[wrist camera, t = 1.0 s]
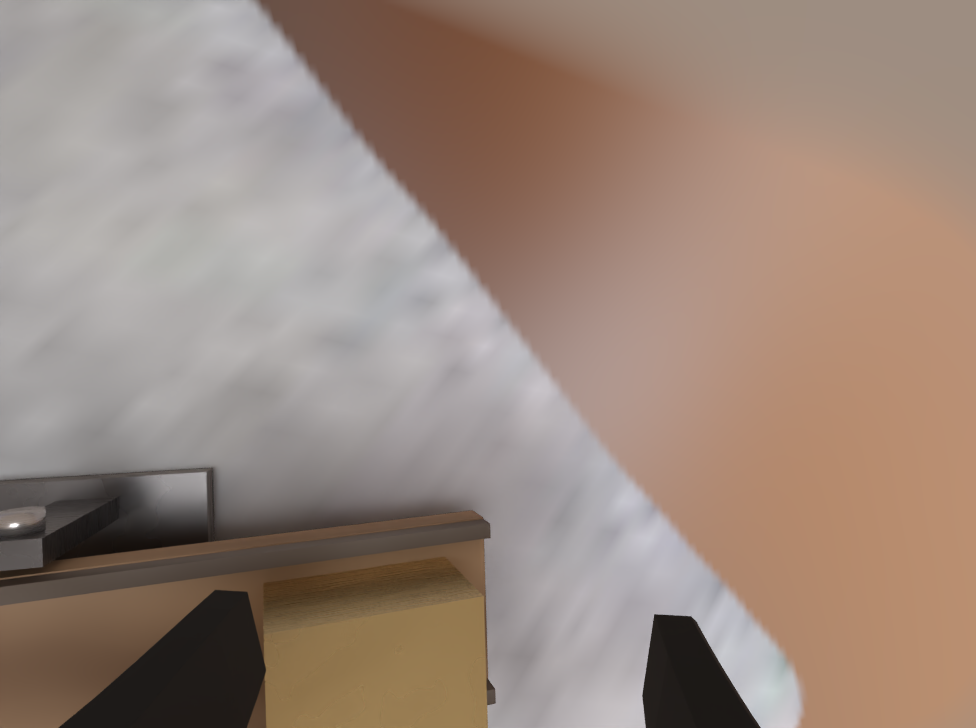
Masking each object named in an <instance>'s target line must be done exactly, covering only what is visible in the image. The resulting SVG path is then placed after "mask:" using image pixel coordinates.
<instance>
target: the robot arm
mask: <svg viewBox="0 0 976 728" xmlns="http://www.w3.org/2000/svg"><path fill="white" fill-rule="evenodd" d="M265 673H266V667H265V663H264V658H263V654H262V650H261V646H260V642H259V638H258V634H257V629H256V625H255V621H254V617H253V613H252V609H251V604H250V600H249V596H248V592H244V591H227V590H214V591H213V592H212V593H211V594H210V595H209V596H208V597H206V598H205V599H204V600H203V601H202V602H201V603H200V604H199V605H197V606H196V607H195V608H194V609H193V610H192V611H191V612H190V613H189V614H187V615H186V616H185V617H184V618H183V619H182V620H181V621H180V622H179V623H178V624H176V625H175V626H174V627H173V628H172V629H171V630H170V631H169V632H168V633H167V634H165V635H164V636H163V637H162V638H161V639H160V640H159V641H158V642H157V643H156V644H154V645H153V646H152V647H151V648H150V649H149V650H148V651H147V652H146V653H145V654H143V655H142V656H141V657H140V658H139V659H138V660H137V661H136V662H134V663H133V664H132V665H131V666H130V667H129V668H128V669H127V670H125V671H124V672H123V673H122V674H121V675H120V676H119V677H117V678H116V679H115V680H114V681H113V682H112V683H111V684H110V685H108V686H107V687H106V688H105V689H104V690H103V691H102V692H100V693H99V694H98V695H97V696H96V697H95V698H94V699H92V700H91V701H90V702H89V703H88V704H86V705H85V706H84V707H83V708H82V709H80V710H79V711H78V712H77V713H76V714H74V715H73V716H72V717H71V718H69V719H68V720H67V721H66V722H65V723H63V724H62V725H61V726H60V727H59V728H247V726H248V723H249V720H250V717H251V715H252V712H253V709H254V706H255V703H256V700H257V697H258V694H259V691H260V688H261V685H262V682H263V679H264V676H265ZM642 696H643V705H644V714H645V724H646V728H760V726H759V725H758V723H757V722H756V720H755V719H754V717H753V716H752V714H751V713H750V711H749V710H748V708H747V706H746V705H745V703H744V702H743V700H742V699H741V697H740V695H739V694H738V692H737V691H736V689H735V687H734V686H733V684H732V682H731V681H730V679H729V678H728V676H727V674H726V673H725V671H724V669H723V668H722V666H721V664H720V663H719V661H718V659H717V658H716V656H715V654H714V652H713V651H712V649H711V647H710V645H709V644H708V642H707V640H706V638H705V637H704V635H703V633H702V631H701V629H700V628H699V626H698V624H697V622H696V621H695V620H694V619H693V618H692V617H691V616H674V615H656V614H654V621H653V627H652V634H651V641H650V648H649V654H648V661H647V668H646V675H645V681H644V688H643V695H642Z"/></svg>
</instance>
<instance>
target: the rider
mask: <svg viewBox="0 0 976 728" xmlns="http://www.w3.org/2000/svg"><path fill="white" fill-rule="evenodd" d="M263 630H264V663H265V667H266V673H265V700H266V728H488V720H487V687H486V653H485V620H484V596H483V595H482V594H481V593H480V592H479V591H478V590H477V589H476V588H475V587H474V586H473V585H472V584H471V583H470V582H469V581H468V580H467V579H466V578H465V577H464V576H463V575H462V574H461V573H460V572H459V571H458V570H457V569H456V568H455V567H454V566H453V564H452V563H451V562H450V561H449V560H448V559H447V558H446V557H438V558H432V559H425V560H418V561H411V562H404V563H397V564H390V565H384V566H377V567H370V568H363V569H356V570H349V571H343V572H336V573H329V574H322V575H315V576H308V577H302V578H295V579H288V580H281V581H274V582H267V583H263Z"/></svg>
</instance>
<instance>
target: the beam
mask: <svg viewBox="0 0 976 728" xmlns="http://www.w3.org/2000/svg"><path fill="white" fill-rule="evenodd" d="M486 538H491V537H490V523H488V522H487V521H485V520H484V519H483V517H482V516H480V515H478V514H477V513H475V512H474V511H463V512H455V513H447V514H438V515H430V516H422V517H413V518H405V519H397V520H388V521H380V522H372V523H363V524H355V525H347V526H338V527H330V528H322V529H313V530H305V531H297V532H288V533H280V534H272V535H263V536H255V537H247V538H238V539H230V540H222V541H214V542H205V543H197V544H189V545H180V546H172V547H164V548H155V549H147V550H139V551H130V552H122V553H114V554H105V555H97V556H89V557H80V558H72V559H64V560H55V561H52V562H50V563H49V564H47V565H46V566H44V567H39V568H28V569H17V570H6V571H0V728H59V727H60V726H61V725H62V724H63V723H65V722H66V721H67V720H68V719H69V718H71V717H72V716H73V715H74V714H76V713H77V712H78V711H79V710H80V709H82V708H83V707H84V706H85V705H86V704H88V703H89V702H90V701H91V700H92V699H94V698H95V697H96V696H97V695H98V694H99V693H100V692H102V691H103V690H104V689H105V688H106V687H107V686H108V685H110V684H111V683H112V682H113V681H114V680H115V679H116V678H117V677H119V676H120V675H121V674H122V673H123V672H124V671H125V670H127V669H128V668H129V667H130V666H131V665H132V664H133V663H134V662H136V661H137V660H138V659H139V658H140V657H141V656H142V655H143V654H145V653H146V652H147V651H148V650H149V649H150V648H151V647H152V646H153V645H154V644H156V643H157V642H158V641H159V640H160V639H161V638H162V637H163V636H164V635H165V634H167V633H168V632H169V631H170V630H171V629H172V628H173V627H174V626H175V625H176V624H178V623H179V622H180V621H181V620H182V619H183V618H184V617H185V616H186V615H187V614H189V613H190V612H191V611H192V610H193V609H194V608H195V607H196V606H197V605H199V604H200V603H201V602H202V601H203V600H204V599H205V598H206V597H208V596H209V595H210V594H211V593H212V592H213V591H214V590H227V591H244V592H248V596H249V600H250V604H251V609H252V613H253V617H254V621H255V625H256V629H257V634H258V638H259V642H260V646H261V650H262V654H263V658H264V630H263V583H267V582H274V581H281V580H288V579H295V578H302V577H308V576H315V575H322V574H329V573H336V572H343V571H349V570H356V569H363V568H370V567H377V566H384V565H390V564H397V563H404V562H411V561H418V560H425V559H432V558H438V557H446V558H447V559H448V560H449V561H450V562H451V563H452V564H453V566H454V567H455V568H456V569H457V570H458V571H459V572H460V573H461V574H462V575H463V576H464V577H465V578H466V579H467V580H468V581H469V582H470V583H471V584H472V585H473V586H474V587H475V588H476V589H477V590H478V591H479V592H480V593H481V594H482V595H483V596H484V620H485V653H486V687H487V705H490V704H494V703H495V688H494V687H493V686H492V684H491V683H490V681H489V680H488V661H487V628H486V595H485V562H484V539H486ZM247 728H266V700H265V676H264V679H263V682H262V685H261V688H260V691H259V694H258V697H257V700H256V703H255V706H254V709H253V712H252V715H251V717H250V720H249V723H248V726H247Z"/></svg>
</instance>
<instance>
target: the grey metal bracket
mask: <svg viewBox="0 0 976 728" xmlns="http://www.w3.org/2000/svg"><path fill="white" fill-rule="evenodd" d="M205 542H214V509H213V476H212V468H199V469H183V470H167V471H150V472H134V473H118V474H102V475H86V476H70V477H53V478H37V479H21V480H5V481H0V571H6V570H17V569H28V568H39V567H44V566H46V565H47V564H49V563H50V562H52V561H55V560H64V559H72V558H80V557H89V556H97V555H105V554H114V553H122V552H130V551H139V550H147V549H155V548H164V547H172V546H180V545H189V544H197V543H205Z"/></svg>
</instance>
